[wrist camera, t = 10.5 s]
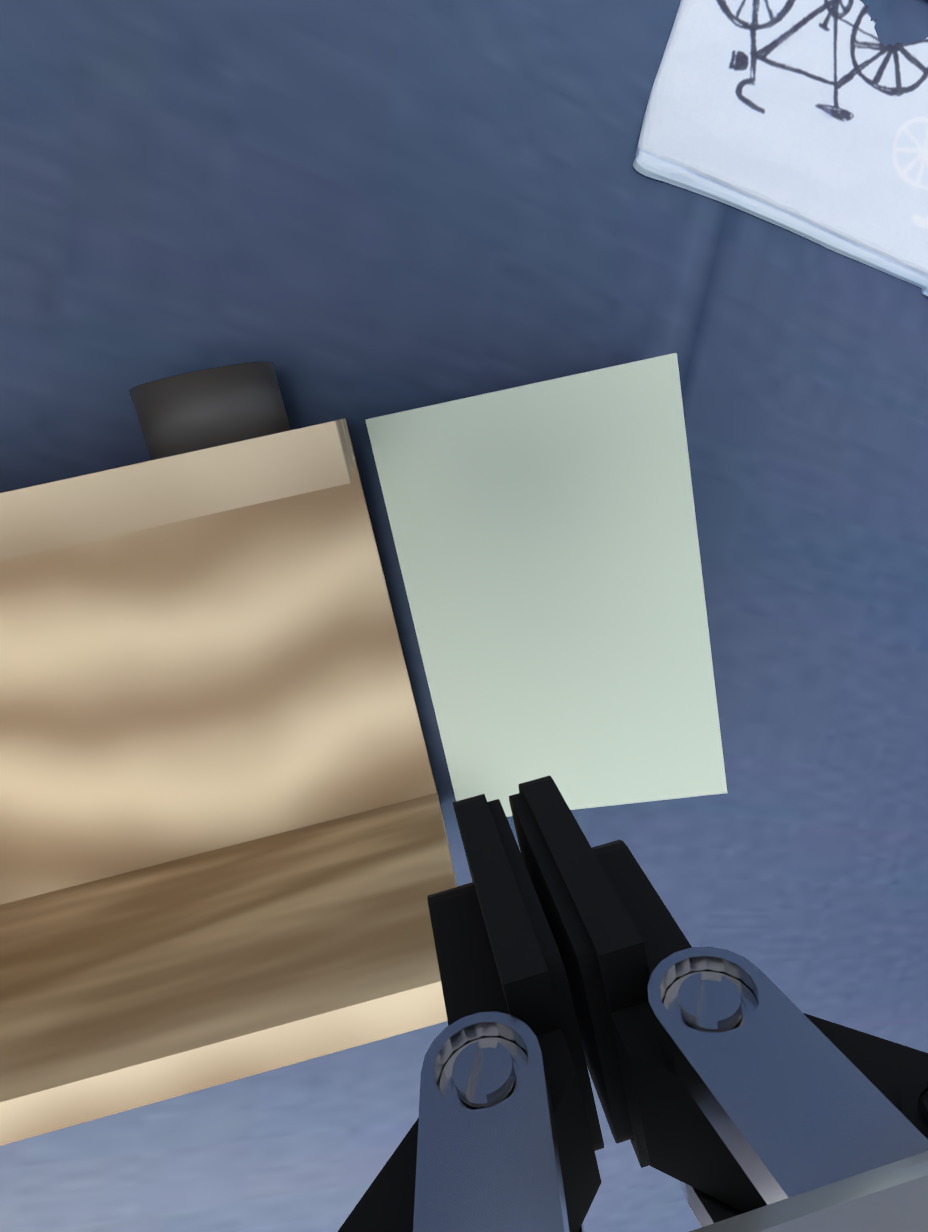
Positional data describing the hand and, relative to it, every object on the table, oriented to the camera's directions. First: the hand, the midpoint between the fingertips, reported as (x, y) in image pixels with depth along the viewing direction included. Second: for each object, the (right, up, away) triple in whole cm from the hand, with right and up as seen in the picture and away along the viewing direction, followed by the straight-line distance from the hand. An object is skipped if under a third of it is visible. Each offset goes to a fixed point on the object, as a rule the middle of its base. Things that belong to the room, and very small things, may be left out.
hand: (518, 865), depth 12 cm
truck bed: (-14, +1, +19) cm, 24 cm away
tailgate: (-3, +3, +19) cm, 19 cm away
